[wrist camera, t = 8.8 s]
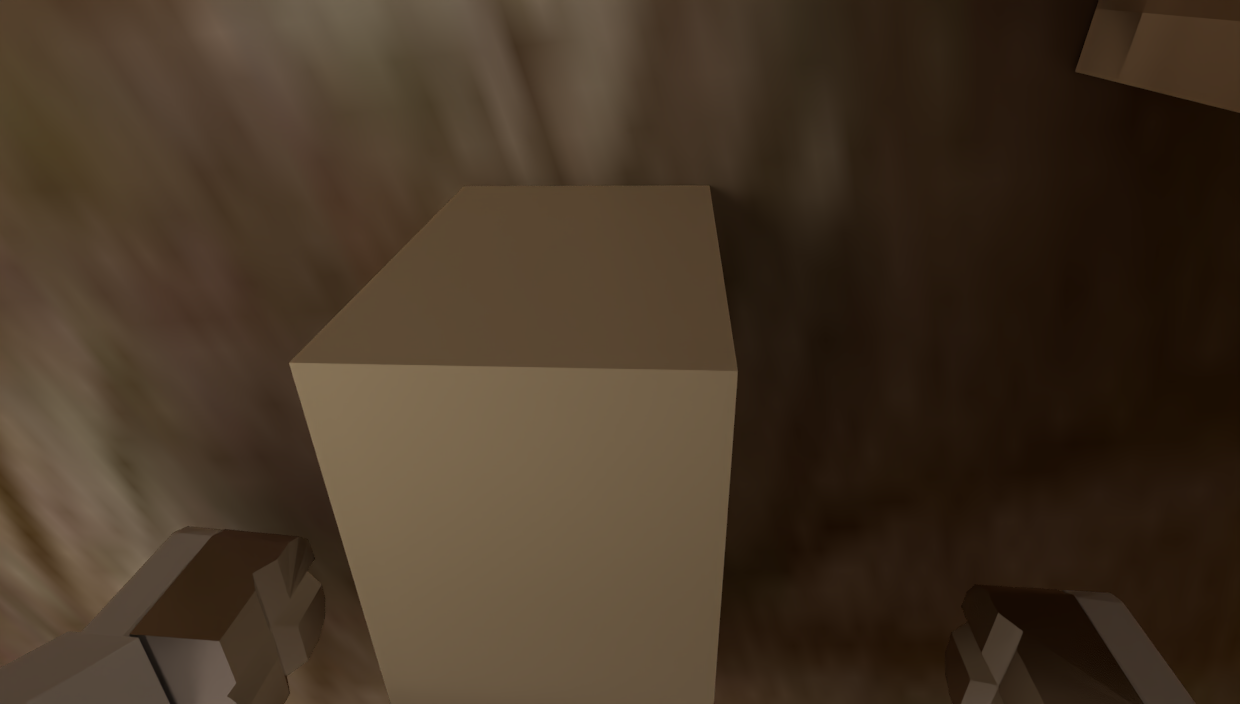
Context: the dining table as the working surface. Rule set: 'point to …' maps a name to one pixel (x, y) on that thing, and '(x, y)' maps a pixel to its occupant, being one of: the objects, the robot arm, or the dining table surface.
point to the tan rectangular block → (536, 447)
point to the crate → (1168, 48)
